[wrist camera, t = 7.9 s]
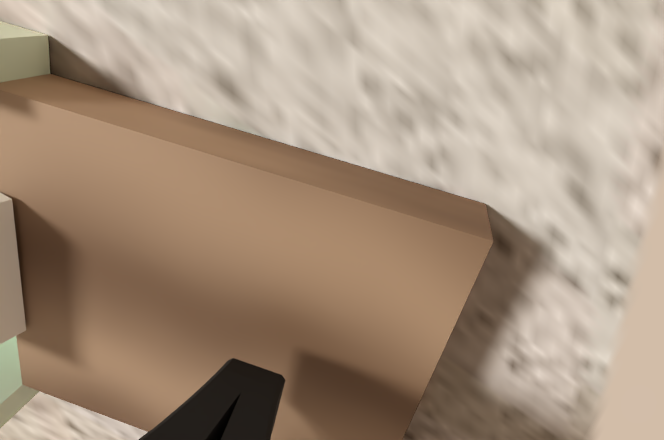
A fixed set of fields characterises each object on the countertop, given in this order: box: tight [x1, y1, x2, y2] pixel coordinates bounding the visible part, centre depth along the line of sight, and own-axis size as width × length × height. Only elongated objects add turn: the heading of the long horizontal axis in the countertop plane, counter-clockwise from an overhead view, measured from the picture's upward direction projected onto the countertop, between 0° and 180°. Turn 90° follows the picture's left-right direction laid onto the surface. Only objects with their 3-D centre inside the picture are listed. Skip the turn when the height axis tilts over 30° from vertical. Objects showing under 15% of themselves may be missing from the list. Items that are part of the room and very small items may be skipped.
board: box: [0, 74, 493, 440], centre depth 13 cm, size 10×12×2 cm
